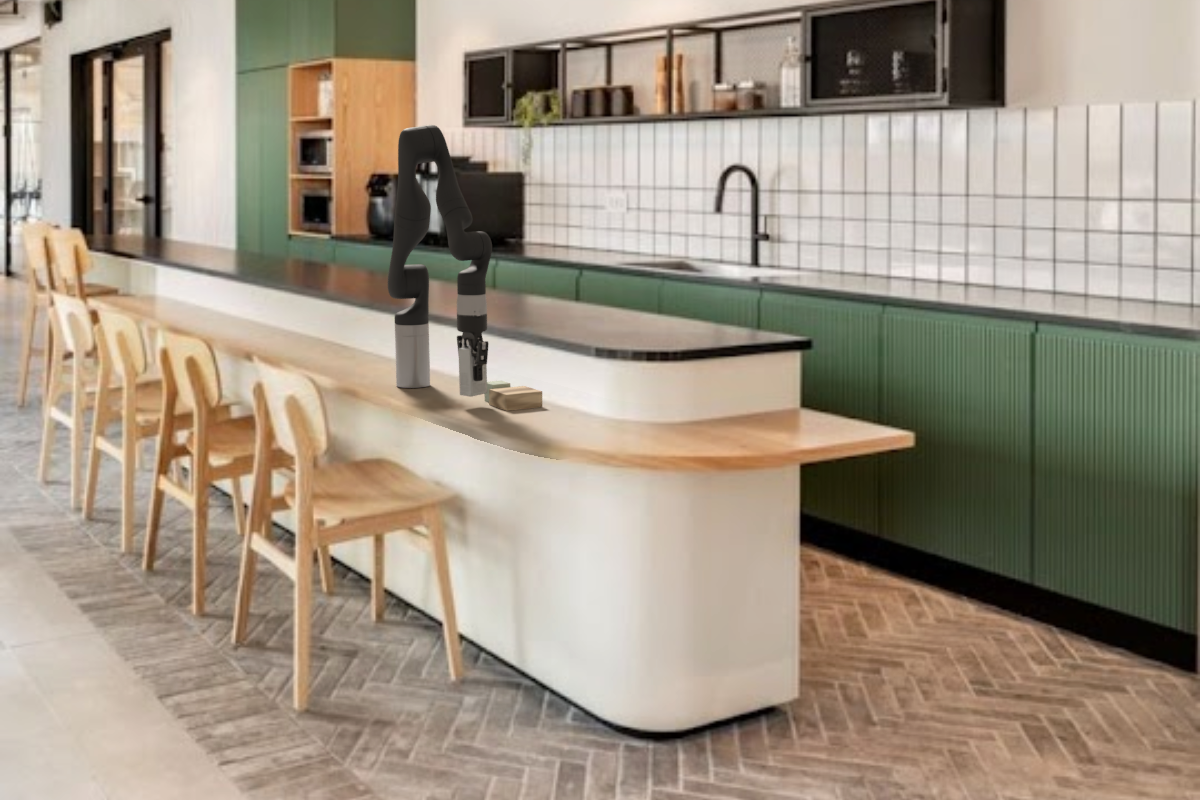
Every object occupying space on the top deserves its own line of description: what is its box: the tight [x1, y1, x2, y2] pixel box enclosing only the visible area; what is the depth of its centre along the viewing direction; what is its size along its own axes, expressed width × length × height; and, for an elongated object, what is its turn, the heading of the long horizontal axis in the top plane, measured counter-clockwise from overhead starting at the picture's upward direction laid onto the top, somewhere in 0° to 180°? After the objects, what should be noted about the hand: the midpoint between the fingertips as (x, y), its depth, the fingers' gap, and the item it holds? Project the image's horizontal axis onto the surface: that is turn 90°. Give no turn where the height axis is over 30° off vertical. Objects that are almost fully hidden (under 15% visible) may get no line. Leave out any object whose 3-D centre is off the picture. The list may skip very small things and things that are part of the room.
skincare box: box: [457, 347, 488, 398], centre depth 367 cm, size 6×4×12 cm
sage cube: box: [484, 380, 511, 403], centre depth 376 cm, size 5×5×5 cm
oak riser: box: [488, 385, 543, 412], centre depth 370 cm, size 10×10×4 cm
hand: (472, 378), depth 368 cm, fingers closed on skincare box, 5 cm apart
